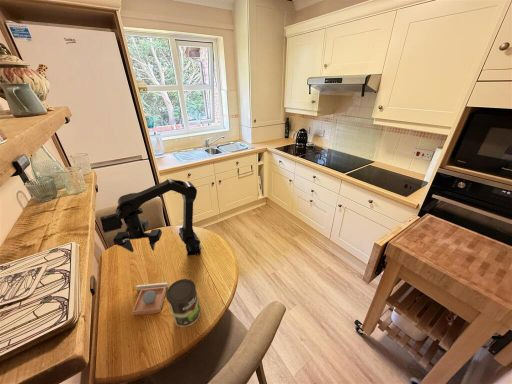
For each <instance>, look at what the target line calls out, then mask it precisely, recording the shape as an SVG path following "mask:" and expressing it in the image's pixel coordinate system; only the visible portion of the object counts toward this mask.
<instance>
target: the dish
mask: <svg viewBox="0 0 512 384" xmlns="http://www.w3.org/2000/svg"><path fill="white" fill-rule="evenodd" d="M149 290H152V291H154V292H155V293H156V298H155V300H154V301H153V302H152V303H150V304H146V303H144V302H143V299H142V298H143V295H144V293H145V292H147V291H149ZM167 290H168V288H166V287H156V288H146V289H141V290H140V291H139V294H138V295H137V299H136V301H135V304H134V306H133V309H132V311H131V313H132V315H133V316H136V315H138V316H139V315H148V314H155V313H160V312H161V310H162V307H163V303H164V300H165V298H166V292H167Z"/></svg>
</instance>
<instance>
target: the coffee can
mask: <svg viewBox="0 0 512 384" xmlns="http://www.w3.org/2000/svg"><path fill="white" fill-rule="evenodd" d="M198 297H199V296H198V293H197V289H196V283H195V282H194V281H193V280H192V279H189V278H183V279H182V278H181V279H179V280H176V281H174V282H173V283H172V284H170V285H169V286H168V288H167V290H166V294H165V298H166V300H167V302H168V306H169V308H170V312H171V314H172V318H173V321H174V323H175V325H176V326H177V327H181V328H187V327H190V326H192V325H193V324H195V323H196V322H197V321H198V320H199V318H200V315H201V306H200V303H199V299H198Z"/></svg>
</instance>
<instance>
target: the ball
mask: <svg viewBox="0 0 512 384" xmlns="http://www.w3.org/2000/svg"><path fill="white" fill-rule="evenodd" d="M155 298H156V293H155V292H154V291H152V290H149V291H147V292H145V293H144V295H143V298H142V299H143V302H144V303H146V304H150V303H152V302H153V301H154V300H155Z"/></svg>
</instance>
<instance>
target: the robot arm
mask: <svg viewBox="0 0 512 384" xmlns="http://www.w3.org/2000/svg"><path fill="white" fill-rule="evenodd" d="M170 191H171V192H175V193H177V194H180V195H181V196H182V200H183V207H182V208H183V210H182V212H183V215H182V216H183V217H182V224H183V225H182V227H179V228H178V230H179V233H178V236H179V237H180V240H181V242H183V244H184V245H185V249H186V252H187V254H186V255H187V256H193V255H194V256H195V255H200V254H201V249H202V245H201V240H200V239H199V238H200V237H198V236H197V234H196V232H195V231H194V228H193V225H194V224H193V223H194V222H193V221H194V220H193V219H194V202H195V200H196V198H197V194H198V189H197V187H195V185H194V184H193V183H192V182H190V181H183V180H177V179H172V178H167V179H165V180H164V181H162V182H160V183H157V184H155V185H153V186H151V187H148V188H146V189H143V190H141V191H139V192H131V193H127V194H124V195H120V197H119V198H118V200H117V207H116V208H115V212H114V213H112V214H108V215H103V216H100V217H99V219H100V224H101V226H102V227H101V228H102V231H103V233H104V234H107V233H110V232H114V231H117V230H120V229H123V226H124V224H125V231H118V232H117V233H116V234H115V236H114V237H113V239H112V242H113V243H112V244H114V246H115V245H116V246H118V247H121V248H123V249H125V250H128V252H130V253H134V247H133V244H132V243H131V240H140V239H146V238H147V239H148V241H149V246H150V248H151V250H152V251H155V247H156V246H155V245H156V244H157V242H159V241H160V239H161V237H162V234H163V231H162V229H160V228H156V229H151V231H150V232H147V229H148V227H150V225H149V220H148V219H141V218H140V214H143V213H144V211H143V209H142V205H144V204H145V203H146V202H149V201H151V200H154V199H155V198H157V197H160V196H162V195H164V194H166V193H168V192H170ZM123 221H124V222H123Z"/></svg>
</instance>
